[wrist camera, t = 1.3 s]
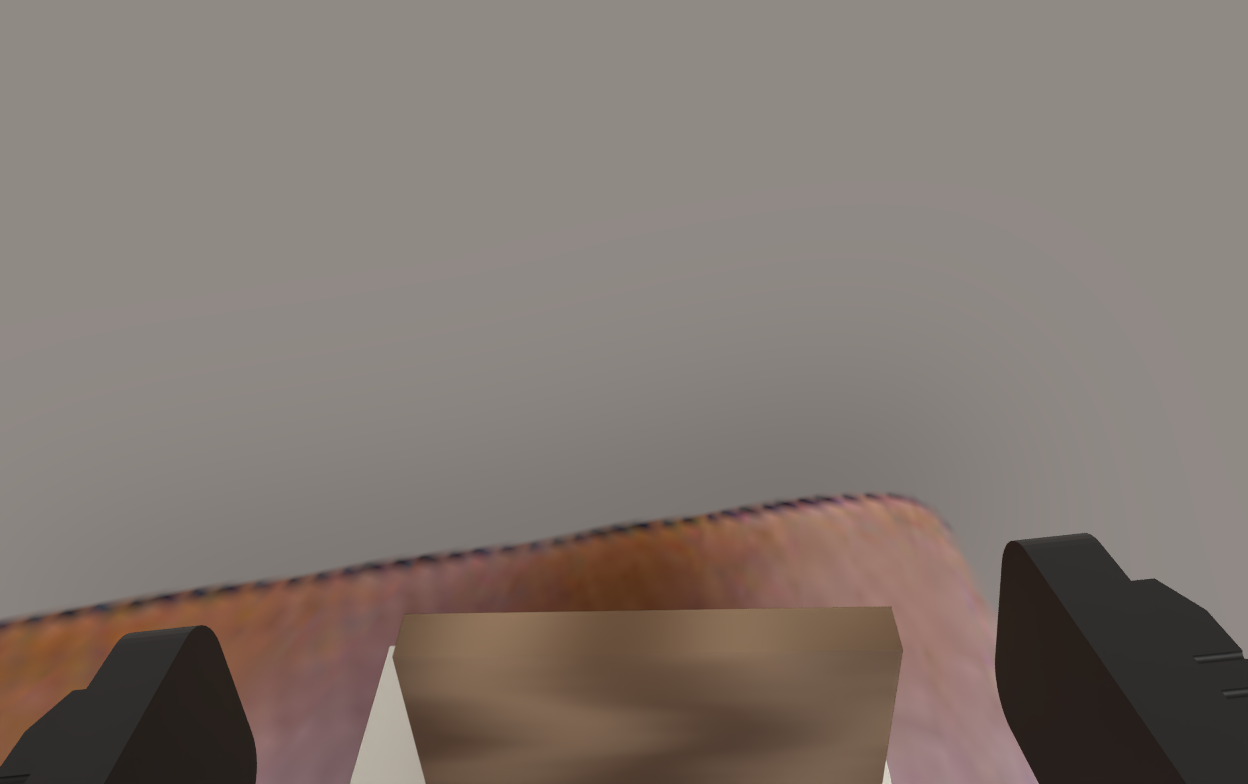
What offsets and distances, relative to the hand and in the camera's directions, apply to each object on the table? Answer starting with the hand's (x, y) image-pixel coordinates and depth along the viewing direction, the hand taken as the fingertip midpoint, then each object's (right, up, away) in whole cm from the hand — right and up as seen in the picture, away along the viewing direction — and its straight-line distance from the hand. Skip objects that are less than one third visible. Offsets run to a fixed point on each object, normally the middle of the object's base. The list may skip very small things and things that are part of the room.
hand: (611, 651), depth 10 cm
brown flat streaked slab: (0, -16, +20) cm, 25 cm away
